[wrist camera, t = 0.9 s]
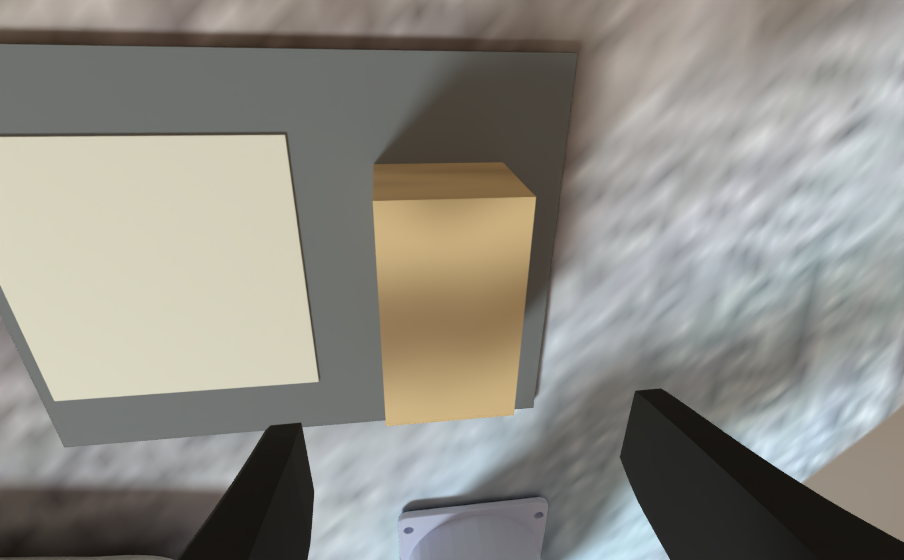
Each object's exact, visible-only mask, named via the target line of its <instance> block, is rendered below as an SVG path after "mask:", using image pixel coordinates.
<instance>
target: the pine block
mask: <svg viewBox="0 0 904 560" xmlns="http://www.w3.org/2000/svg"><path fill="white" fill-rule="evenodd" d="M535 203H536V196H535V195H534V194H533V193H532V192H531V191H530V190H529V189H528V188H527V187H526V186H525V185H524V184H523V183H522V182H521V181H520V180H519V179H518V178H517V176H516V175H515V174H514V173H513V172H512V171H511V170H510V169H509V168H508V167H507V166H506V165H505V164H504V163H503V162H488V163H422V164H373V215H374V232H375V249H376V266H377V283H378V300H379V317H380V334H381V351H382V368H383V384H384V401H385V418H386V426H393V425H404V424H416V423H427V422H439V421H450V420H462V419H474V418H485V417H497V416H508V415H514V408H515V398H516V389H517V379H518V369H519V359H520V349H521V340H522V330H523V320H524V310H525V301H526V291H527V281H528V271H529V262H530V252H531V242H532V232H533V223H534V213H535Z"/></svg>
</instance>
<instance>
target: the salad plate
mask: <svg viewBox="0 0 904 560" xmlns="http://www.w3.org/2000/svg"><path fill="white" fill-rule="evenodd" d="M0 560H173V559H170V558H165V557H160V556H150V555H120V556H101V557H0Z"/></svg>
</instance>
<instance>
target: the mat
mask: <svg viewBox="0 0 904 560" xmlns="http://www.w3.org/2000/svg"><path fill="white" fill-rule="evenodd" d="M577 56H578V53H556V52H493V51H429V50H366V49H303V48H240V47H177V46H114V45H51V44H0V315H1V317H2V319H3V321H4V323H5V325H6V327H7V329H8V332H9V334H10V336H11V338H12V340H13V342H14V344H15V346H16V348H17V350H18V352H19V354H20V356H21V358H22V361H23V363H24V365H25V367H26V369H27V371H28V373H29V375H30V377H31V379H32V381H33V383H34V385H35V388H36V390H37V392H38V394H39V396H40V398H41V400H42V402H43V404H44V406H45V408H46V410H47V412H48V414H49V417H50V419H51V421H52V423H53V425H54V427H55V429H56V431H57V433H58V435H59V437H60V439H61V441H62V444H63V446H64V447H75V446H87V445H99V444H110V443H122V442H134V441H146V440H158V439H169V438H181V437H193V436H205V435H217V434H228V433H240V432H252V431H264V430H266V429H267V428H268V427H269V426H270V425H279V424H290V423H300V422H301V423H302V427H311V426H323V425H334V424H346V423H358V422H370V421H382V420H386V418H385V401H384V384H383V368H382V351H381V334H380V317H379V300H378V283H377V266H376V249H375V232H374V215H373V164H422V163H488V162H503V163H504V164H505V165H506V166H507V167H508V168H509V169H510V170H511V171H512V172H513V173H514V174H515V175H516V176H517V178H518V179H519V180H520V181H521V182H522V183H523V184H524V185H525V186H526V187H527V188H528V189H529V190H530V191H531V192H532V193H533V194H534V195H535V196H536V203H535V213H534V223H533V232H532V242H531V252H530V262H529V271H528V281H527V291H526V301H525V310H524V320H523V330H522V340H521V349H520V359H519V369H518V379H517V389H516V398H515V408H514V409H523V408H533V406H534V398H535V390H536V382H537V374H538V366H539V358H540V350H541V342H542V334H543V326H544V318H545V310H546V302H547V294H548V287H549V279H550V271H551V263H552V255H553V247H554V239H555V231H556V223H557V215H558V207H559V199H560V191H561V183H562V175H563V167H564V159H565V151H566V143H567V135H568V127H569V119H570V112H571V104H572V96H573V88H574V80H575V72H576V64H577Z"/></svg>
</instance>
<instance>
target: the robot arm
mask: <svg viewBox="0 0 904 560" xmlns="http://www.w3.org/2000/svg"><path fill="white" fill-rule="evenodd" d="M620 459H621V461H622V464H623V467H624V469H625V472H626V474H627V477H628V479H629V482H630V484H631V486H632V489H633V491H634V493H635V496H636V498H637V500H638V503H639V504H640V506H641V508H642V510H643V512H644V514H645V515H646V517H647V519H648V521H649V523H650V524H651V526H652V528H653V530H654V532H655V534H656V535H657V537H658V539H659V541H660V542H661V544H662V546H663V548H664V550H665V551H666V553H667V555H668V557H669V558H670V560H904V542H902V541H900V540H898V539H896V538H895V537H893V536H891V535H889V534H887V533H885V532H884V531H882V530H880V529H878V528H876V527H875V526H873V525H871V524H869V523H867V522H865V521H864V520H862V519H860V518H858V517H857V516H855V515H853V514H851V513H850V512H848V511H846V510H844V509H842V508H841V507H839V506H837V505H836V504H834V503H832V502H831V501H829V500H827V499H825V498H824V497H822V496H820V495H819V494H817V493H816V492H814V491H813V490H811V489H809V488H808V487H806V486H805V485H803V484H801V483H800V482H798V481H797V480H795V479H793V478H792V477H790V476H789V475H787V474H786V473H784V472H782V471H781V470H779V469H778V468H776V467H775V466H773V465H772V464H770V463H769V462H767V461H766V460H764V459H763V458H761V457H760V456H758V455H757V454H755V453H754V452H752V451H751V450H749V449H748V448H747V447H745V446H744V445H742V444H741V443H739V442H738V441H736V440H735V439H733V438H732V437H731V436H729V435H728V434H726V433H725V432H723V431H722V430H721V429H719V428H718V427H716V426H715V425H713V424H712V423H711V422H709V421H708V420H706V419H705V418H704V417H702V416H701V415H699V414H698V413H696V412H695V411H694V410H692V409H691V408H689V407H688V406H686V405H685V404H684V403H682V402H681V401H679V400H678V399H676V398H675V397H673V396H672V395H670V394H669V393H667V392H666V391H664V390H663V389H650V390H640V391H635V394H634V398H633V403H632V407H631V411H630V416H629V420H628V424H627V429H626V433H625V437H624V442H623V446H622V450H621V455H620ZM313 502H314V488H313V482H312V477H311V472H310V466H309V461H308V456H307V450H306V445H305V439H304V434H303V429H302V423H301V422H300V423H290V424H279V425H270V426H269V427H268V428H267V429H266V430H265V432H264V433H263V435H262V437H261V438H260V440H259V442H258V443H257V445H256V447H255V448H254V450H253V452H252V453H251V455H250V456H249V458H248V459H247V461H246V463H245V464H244V466H243V467H242V469H241V470H240V472H239V473H238V475H237V476H236V478H235V479H234V481H233V482H232V484H231V485H230V487H229V488H228V490H227V491H226V493H225V494H224V496H223V497H222V498H221V500H220V501H219V503H218V504H217V506H216V507H215V508H214V510H213V511H212V513H211V514H210V516H209V517H208V519H207V520H206V521H205V523H204V524H203V525H202V527H201V528H200V530H199V531H198V532H197V534H196V535H195V536H194V538H193V539H192V540H191V541H190V543H189V544H188V545H187V547H186V548H185V549H184V551H183V552H182V553H181V554H180V556H179V557H178V558H177V560H307V559H308V553H309V548H310V541H311V529H312V516H313ZM548 508H549V507H548V503H547V500H546V499H545V498H543V497H535V498H526V499H517V500H508V501H499V502H490V503H480V504H471V505H462V506H453V507H444V508H435V509H426V510H417V511H408V512H404V513H402V514H401V515H400V516H399V519H398V523H399V543H400V560H541V559H540V556H541V550H542V544H543V538H544V532H545V526H546V520H547V514H548Z"/></svg>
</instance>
